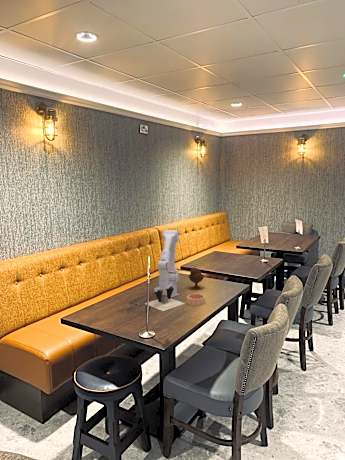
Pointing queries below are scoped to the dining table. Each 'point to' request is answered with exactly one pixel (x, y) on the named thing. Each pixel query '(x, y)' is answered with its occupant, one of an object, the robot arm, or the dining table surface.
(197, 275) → the brown miniature tree
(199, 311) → the dining table surface
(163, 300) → the lid
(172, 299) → the mat
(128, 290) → the dining table surface
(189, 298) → the bowl
